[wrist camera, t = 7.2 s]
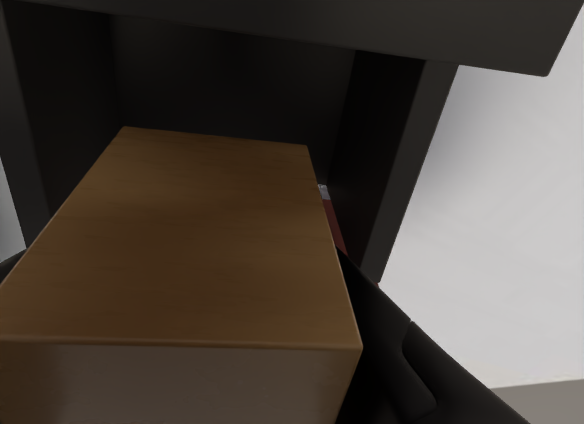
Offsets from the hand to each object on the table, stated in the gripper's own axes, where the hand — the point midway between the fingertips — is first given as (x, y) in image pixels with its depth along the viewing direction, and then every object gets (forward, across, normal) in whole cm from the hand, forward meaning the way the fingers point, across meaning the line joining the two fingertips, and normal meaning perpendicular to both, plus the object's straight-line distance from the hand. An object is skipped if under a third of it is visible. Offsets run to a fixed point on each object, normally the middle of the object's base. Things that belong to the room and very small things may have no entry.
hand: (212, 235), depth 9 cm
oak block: (+1, 0, 0) cm, 1 cm away
